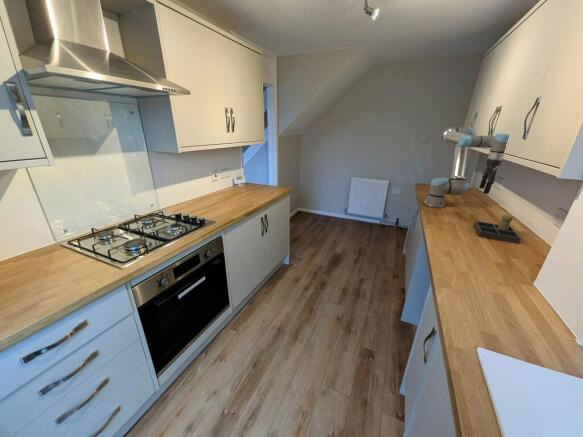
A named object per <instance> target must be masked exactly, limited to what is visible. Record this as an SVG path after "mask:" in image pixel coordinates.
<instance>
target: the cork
mask: <svg viewBox="0 0 583 437" xmlns="http://www.w3.org/2000/svg"><path fill="white" fill-rule="evenodd" d="M513 219H514V218H513V216H512V215H509V214H508V215H507V214H504V215H502V216H501V221H500V222H499V224H498V225H499V226H498V227H497V229H501V230H507V231H508V230H509V226H510V225H511V222H512V221H513Z"/></svg>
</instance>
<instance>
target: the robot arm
mask: <svg viewBox="0 0 583 437" xmlns="http://www.w3.org/2000/svg"><path fill="white" fill-rule="evenodd" d="M509 134H510V133H496V134H495V135H476V130H475V129H474V128H473V127H466V126H465V127H464V126H463V127H461V126H459V127H457V126H456V127H454V126H453V127H451V126H450V127H448V128H445V129H444V130H443V131H442V132H441V134H440V138H441V140H442V141H443V142H445V143H452V145H453V147H454V154H453V161H452V169H451V175H450V177H449V178H447V177H435V178H432V180H431V183H430V185H429V190H428V193H427V196H426V198H425V200H424V201H423V205H424V206H426V207H430V208H434V209H435V208H436V209H443V208H444V207H445V196H446V195H453V196H454V195H455V196H461V195H462V196H463V195H465V194H466V193H467V192H468V189H469V185H470V184H469V181H468V180H467V178H466V177H465V172H466V164H467V156H468V149H469V148H482V149H483V148H484V149H490V150H489V153H487V155H488V156H487V159H486V161H485V165H486V168H485V169H484V171H483V174H482V175H481V180H480V183H479V188H478V189H480V190H481V189H482V190H483V194H486V195H489V193H490V191H491V189H492V186H493V185H494V184H495V180H496V175H497V171H498V168H497V167H500V166H501V164H502V162H503V159H504V157H505V154H504V151H505V148H506V144H507V141H508V138H509ZM506 149H507V148H506ZM505 152H506V151H505ZM503 156H504V157H503ZM502 158H503V159H502Z"/></svg>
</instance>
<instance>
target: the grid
mask: <svg viewBox="0 0 583 437" xmlns="http://www.w3.org/2000/svg"><path fill="white" fill-rule="evenodd" d="M498 226H499V224H496V223H492V222H491V223H490V222H484V221H479V220H475V221H474V223H473V227H474V230H475V233H477V236H478V237H481V238H485V239H490V240H496V241H502V242H508V243H513V244H518V245H519V244H520V243H521V240H522V237H521V236H520V235H519V233H518V232H517V231H516V230H515V229H514V228H513V226H510V225H509V230H508V231H507V230H501V229H497V227H498Z"/></svg>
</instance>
